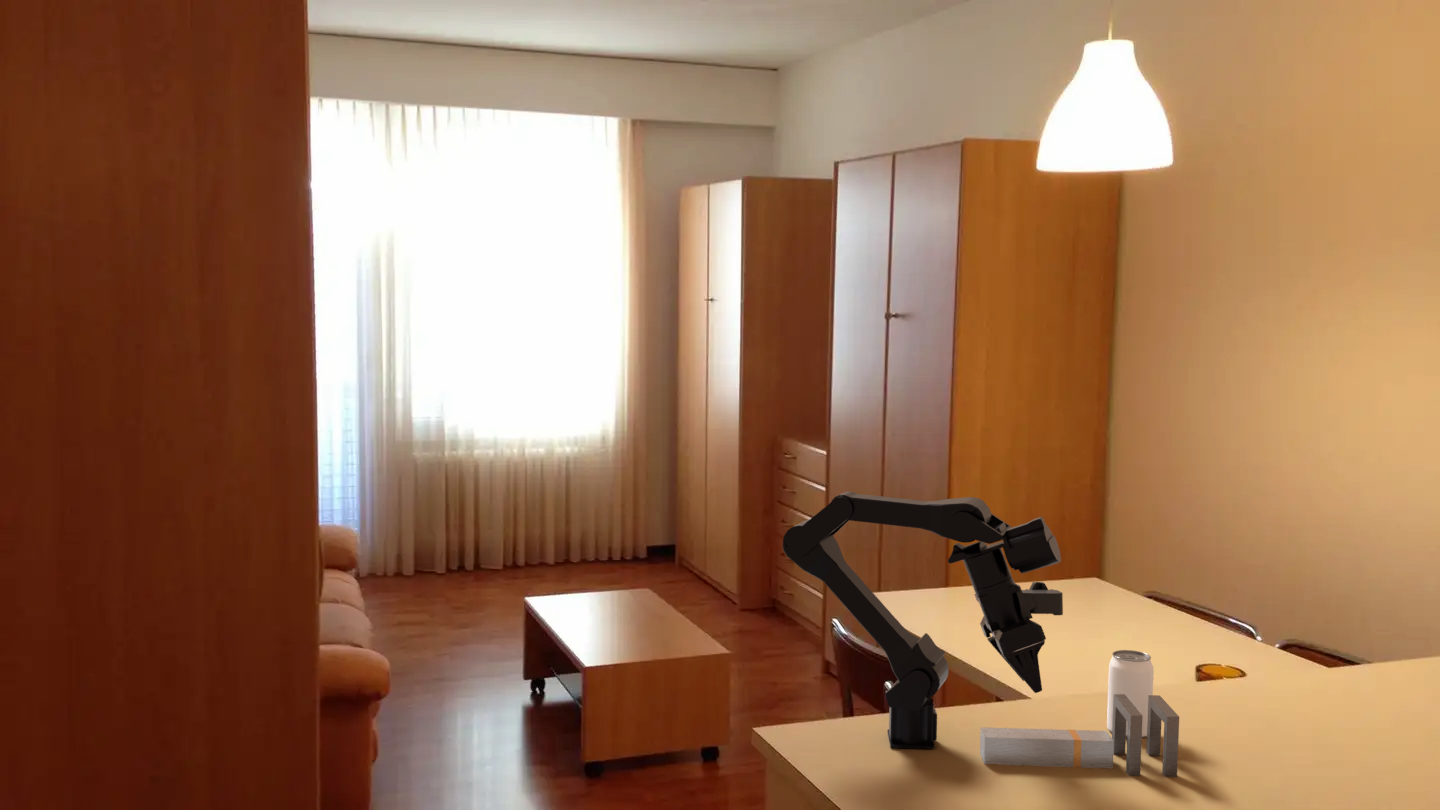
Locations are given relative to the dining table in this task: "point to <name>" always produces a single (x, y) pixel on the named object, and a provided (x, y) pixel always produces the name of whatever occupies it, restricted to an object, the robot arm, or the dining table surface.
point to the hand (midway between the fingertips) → (1032, 685)
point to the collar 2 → (1165, 713)
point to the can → (1130, 683)
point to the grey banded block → (1046, 747)
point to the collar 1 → (1134, 734)
